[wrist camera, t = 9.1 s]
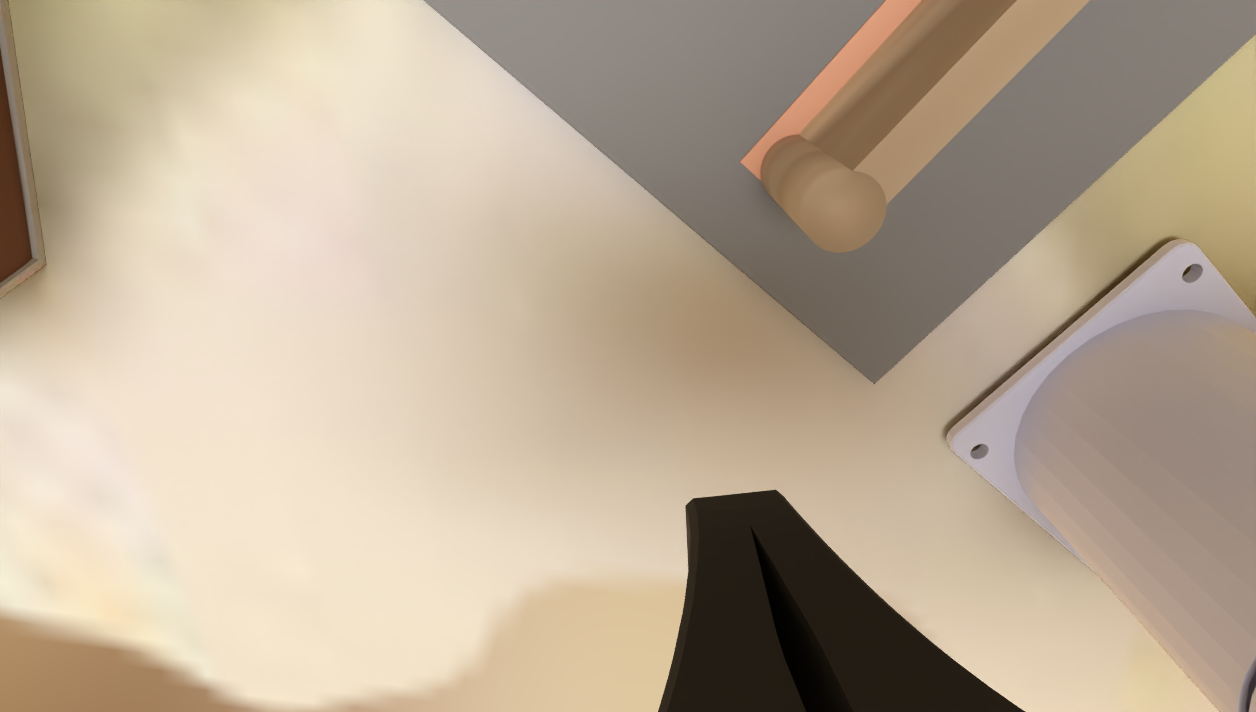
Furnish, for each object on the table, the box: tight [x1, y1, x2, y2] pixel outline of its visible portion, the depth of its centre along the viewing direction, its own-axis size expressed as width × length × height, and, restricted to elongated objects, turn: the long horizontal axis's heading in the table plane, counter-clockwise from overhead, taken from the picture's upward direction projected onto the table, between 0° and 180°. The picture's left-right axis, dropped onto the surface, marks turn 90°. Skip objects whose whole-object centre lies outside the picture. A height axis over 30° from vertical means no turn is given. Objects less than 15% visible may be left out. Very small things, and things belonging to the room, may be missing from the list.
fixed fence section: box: [760, 0, 1090, 253], centre depth 15 cm, size 2×11×4 cm, turn 139°
